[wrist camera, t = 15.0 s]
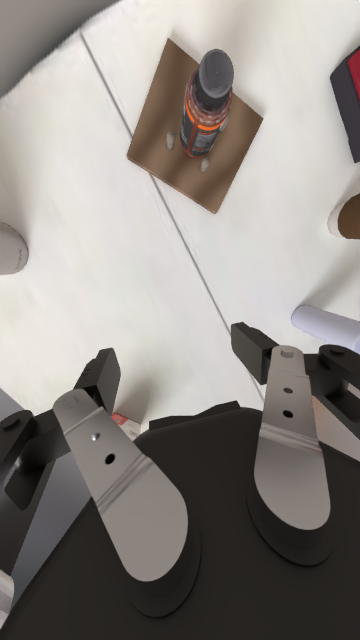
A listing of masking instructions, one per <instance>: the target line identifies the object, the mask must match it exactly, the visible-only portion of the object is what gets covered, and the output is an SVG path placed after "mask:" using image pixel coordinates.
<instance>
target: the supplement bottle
mask: <svg viewBox="0 0 360 640" xmlns="http://www.w3.org/2000/svg"><path fill="white" fill-rule="evenodd" d="M233 76H234V72H233V65H232V62H231V60H230V58H229V56H228V55H227V54H226V53H225V52H223V51H222V50H219V49H214V50H211V51H209V52H208V53H207V54H205V56H204V57H203V59H202V61H201V64H200V66H198V67H197V68H196V69H195V70H194V72H193V73H192V75H191V77H190V79H189V82H188V86H187V91H186V96H185V102H184V108H183V114H182V120H181V126H180V142H181V146H182V148H183V150H184V151H185V152H186V153H187V154H188V155H189V156H191V157H193V158H202V157H204V156H205V155H207V154H208V153H209V151H210V150H211V148H212V147H213V144H214V142H215V140H216V138H217V136H218V134H219V132H220V130H221V128H222V126H223V123H224V121H225V119H226V117H227V115H228V113H229V110H230V107H231V103H232V94H233V93H232V82H233Z"/></svg>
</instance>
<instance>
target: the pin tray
mask: <svg viewBox="0 0 360 640" xmlns="http://www.w3.org/2000/svg"><path fill="white" fill-rule="evenodd" d="M198 66H200V64H198V63H197V62H196V61H195V60H194V59H193V58H191V57H190V56H189V55H188V54H187V53H185V52H184V51H183V50H182V49H181V48H180V47H178V46H177V45H176V44H175V43H174V42H172V41H171V40H170V39H169V38H168V39H167V42H166V45H165V48H164V50H163V53H162V56H161V59H160V62H159V65H158V67H157V70H156V73H155V76H154V79H153V82H152V84H151V87H150V90H149V93H148V96H147V99H146V102H145V104H144V107H143V110H142V113H141V116H140V119H139V121H138V124H137V127H136V130H135V133H134V136H133V139H132V141H131V144H130V147H129V150H128V153H127V158H128V159H129V160H130V161H132V162H133V163H135V164H137V165H138V166H140V167H141V168H143V169H144V170H146V171H148V172H149V173H151V174H152V175H154V176H155V177H157V178H159V179H160V180H162V181H163V182H165V183H167V184H168V185H170V186H171V187H173V188H174V189H176V190H178V191H179V192H181V193H182V194H184V195H185V196H187V197H189V198H190V199H192V200H193V201H195V202H196V203H198V204H200V205H201V206H203V207H204V208H206V209H207V210H209V211H211V212H212V213H214V214H216V213H217V212H218V210H219V208H220V206H221V204H222V201H223V199H224V197H225V195H226V193H227V191H228V189H229V187H230V185H231V183H232V181H233V179H234V177H235V175H236V173H237V171H238V169H239V167H240V165H241V163H242V161H243V159H244V157H245V155H246V153H247V151H248V149H249V147H250V145H251V143H252V141H253V139H254V137H255V135H256V133H257V131H258V129H259V127H260V125H261V123H262V121H263V118H262V117H261V116H260V115H259V114H257V113H256V112H255V111H254V110H253V109H251V108H250V107H249V106H248V105H247V104H246V103H244V102H243V101H242V100H241V99H240V98H238V97H237V96H236V95H235V94H234V93H233V92H232V93H233V94H232V103H231V107H230V110H229V113H228V115H227V117H226V119H225V121H224V123H223V126H222V128H221V130H220V132H219V134H218V136H217V138H216V140H215V142H214V144H213V147H212V148H211V150H210V151H209V153H208V154H207V155H205V156H204V157H202V158H193V157H191V156H189V155H188V154H187V153H186V152H185V151H184V150H183V148H182V146H181V142H180V126H181V120H182V114H183V108H184V102H185V96H186V91H187V86H188V82H189V79H190V77H191V75H192V73H193V72H194V70H195V69H196V68H197V67H198Z"/></svg>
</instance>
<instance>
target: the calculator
mask: <svg viewBox="0 0 360 640" xmlns="http://www.w3.org/2000/svg"><path fill="white" fill-rule="evenodd" d="M330 80H331V84H332V87H333V91H334V94H335V98H336V101H337V104H338V108H339V111H340V114H341V117H342V120H343V123H344V126H345V129H346V131H347V134H348V137H349V141H348V142H349V146H350V149H351V153H352V156H353V160H354V163H357V162H359V161H360V46H359V47H358V48H357V49H356V50H354V51H353V52H352V53H351V54H350V55H348V56H347V57H346V58H345V59H344V60H343V61H342V62H341V64H340V65H339V66H338V67H337V68H336V69H335V71H334V72H333V73H332V74H331V76H330Z"/></svg>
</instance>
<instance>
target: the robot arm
mask: <svg viewBox="0 0 360 640" xmlns="http://www.w3.org/2000/svg"><path fill="white" fill-rule="evenodd" d="M27 259H28V251H27V247H26V244H25V242H24V240H23V239H22V237H21V236H20V235H19V233H17V232H16V231H15V230H14V229H13V228H11V227H10V226H8V225H6V224H4V223H2V222H0V275H8V274H14V273H17V272H19V271H20V270H22V269H23V268H24V266H25V265H26V262H27ZM231 345H232V349H233V352H234V353H235V354H236V356H237V357H238V358H239V359H240V361H241V362H242V363H243V364H244V365H245V367H246V368H247V369H248V370H249V372H250V373H251V374H252V375H253V376H254V378H255V379H256V380H257V381H258V383H259V384H260V385H264V384H267V386H266V394H265V401H264V408H263V412H262V411H260V410H256V409H252V408H246V407H240V405H239V404H238V402H237V400H236V401H232V402H228V403H223V404H219V405H215V406H213V407H211V408H210V409H208V410H206V411H204V412H202V413H200V414H198V415H195V416H169V417H165V418H160V419H156V420H152V421H149V430H147V431H145V432H143V433H142V434H140V435H139V436H138V437H136V438H135V439H134V440H133V441H132V440H131V439H130V438H129V437H128V436H127V435H126V433H125V432H124V431H123V430H122V429H121V428H120V426H119V425H118V424H117V423H116V422H115V421H114V419H113V418H112V417H111V416H112V411H113V407H114V403H115V398H116V394H117V390H118V385H119V381H120V376H121V372H120V367H119V364H118V361H117V358H116V354H115V351H114V349H113V348H107V349H102V350H100V351H99V353H98V355H97V357H96V359H92V360H91V361H90V362H89V363H88V364H87V365H86V367H85V368H84V371H83V372H82V374H81V376H80V377H79V379H78V381H77V383H76V385H75V386H74V388H73V390H71V391H69V392H67V393H65V394H63V395H62V396H61V397H59V398H58V399H57V400H56V402H55V403H54V405H53V409H51V410H48V411H46V412H44V413H41V414H39V415H37V416H35V417H34V415H33V414H32V412H31V411H29V410H23V411H19V412H16V413H14V414H12V415H10V416H8V417H7V418H5V419H4V420H2V421H1V422H0V640H360V462H359V461H358V460H356V459H354V458H352V457H350V456H348V455H346V454H344V453H342V452H340V451H338V450H336V449H334V448H333V447H331V446H329V445H327V444H325V443H323V442H321V441H319V440H318V438H317V430H316V422H315V415H314V409H313V401H312V396H315V397H316V398H317V399H318V400H319V401H320V402H321V403H322V404H323V405H324V406H325V407H326V408H327V409H328V410H329V411H330V412H332V414H334V415H335V416H336V417H337V418H338V419H339V420H340V421H341V422H342V423H343V424H344V425H345V426H346V427H347V428H348V429H349V430H350V431H351V432H352V433H353V434H354V435H355V436H356V437H357V438H358V439H359V440H360V399H359V398H358V397H356V396H355V395H354V394H352V393H351V392H350V391H348V390H347V388H348V384H349V383H351V384H352V385H353V386H354V387H356V388H357V389H359V390H360V354H358V353H356V352H354V351H352V350H351V349H349V348H346V347H343V346H340V345H333V344H327V345H322V346H320V348H319V352H318V354H303V353H302V351H301V350H299V349H298V348H295V347H292V346H287V345H279V344H277V343H276V342H275V341H273V340H272V339H271V338H269V337H268V336H267V335H265V334H264V333H262V332H261V331H260V330H258V329H255V328H252V327H251V328H250V327H249V326H247V325H246V324H245V323H244V322H240V323H235V324H232V325H231ZM70 451H72V454H73V456H74V458H75V460H76V462H77V464H78V466H79V469H80V471H81V473H82V475H83V477H84V479H85V482H86V483H87V486H88V488H89V490H90V492H91V494H92V496H91V498H90V499H89V501H88V502H87V503H86V505H85V507H84V508H83V509H82V510H81V512H80V513H79V515H78V516H77V517H76V519H75V520H74V522H73V523H72V524H71V526H70V527H69V529H68V530H67V532H66V533H65V534H64V536H63V537H62V538H61V540H60V541H59V543H58V544H57V545H56V547H55V548H54V550H53V551H52V553H51V554H50V555H49V557H48V558H47V559H46V561H45V562H44V564H43V565H42V566H41V568H40V569H39V571H38V572H37V573H36V575H35V576H34V578H33V579H32V580H31V582H30V583H29V585H28V586H27V587H26V589H25V590H24V592H23V593H22V595H21V596H20V597H19V599H18V601H17V602H16V603H15V605H14V606H13V608H12V610H11V611H10V613H9V610H10V607H11V603H12V599H13V593H14V584H13V580H12V578H11V577H10V575H11V573H12V570H13V568H14V565H15V563H16V560H17V557H18V555H19V552H20V550H21V547H22V545H23V542H24V540H25V537H26V535H27V532H28V529H29V527H30V524H31V522H32V519H33V517H34V514H35V512H36V509H37V507H38V504H39V501H40V499H41V497H42V494H43V491H44V489H45V486H46V484H47V481H48V479H49V476H50V473H51V471H52V468H53V466H54V463H55V461H56V459H57V458H59V457H61V456H63V455H65V454H67V453H68V452H70ZM13 466H14V467H15V468H16V469H15V471H14V473H13V475H12V476H11V478H10V480H9V482H8V484H7V485H6V487H5V489H4V483H5V480H6V477H7V475H8V474H9V472H10V470H11V468H12V467H13Z"/></svg>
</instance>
